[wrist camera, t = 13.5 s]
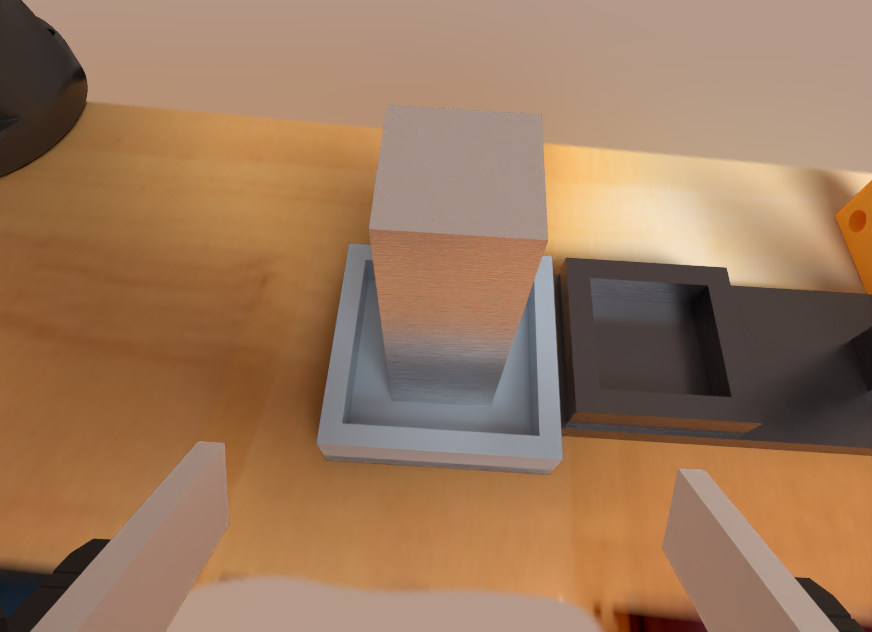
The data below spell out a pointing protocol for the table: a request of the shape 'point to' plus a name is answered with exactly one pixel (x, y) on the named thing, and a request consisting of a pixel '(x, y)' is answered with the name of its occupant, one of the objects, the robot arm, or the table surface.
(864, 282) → the pipe clamp
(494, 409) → the parts tray
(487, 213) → the light grey tall block
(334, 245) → the table surface
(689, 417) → the dark grey post stand
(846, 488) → the table surface
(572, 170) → the table surface
